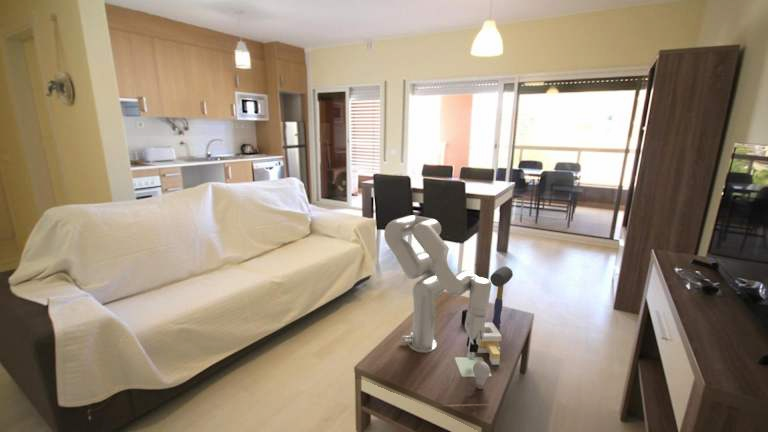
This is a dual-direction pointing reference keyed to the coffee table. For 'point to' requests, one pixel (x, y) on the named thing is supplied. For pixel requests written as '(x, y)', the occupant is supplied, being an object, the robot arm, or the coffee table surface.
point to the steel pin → (470, 354)
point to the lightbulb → (481, 373)
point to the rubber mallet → (500, 290)
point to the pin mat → (467, 365)
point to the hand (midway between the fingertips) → (472, 348)
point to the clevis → (491, 343)
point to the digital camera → (464, 316)
